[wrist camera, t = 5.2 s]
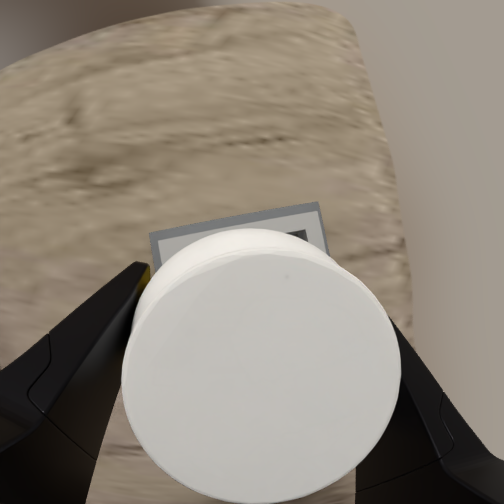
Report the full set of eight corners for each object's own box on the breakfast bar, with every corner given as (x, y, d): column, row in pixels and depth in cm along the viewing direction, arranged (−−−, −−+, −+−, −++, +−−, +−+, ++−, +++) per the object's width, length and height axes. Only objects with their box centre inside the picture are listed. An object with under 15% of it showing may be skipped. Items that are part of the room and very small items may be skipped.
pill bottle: (234, 225, 16) (255, 116, 5) (326, 308, 16) (485, 351, 5) (150, 318, 15) (21, 388, 4) (244, 398, 15) (276, 562, 4)
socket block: (345, 361, 22) (360, 372, 19) (186, 397, 21) (181, 413, 18) (315, 203, 23) (328, 193, 20) (150, 233, 22) (140, 228, 19)
